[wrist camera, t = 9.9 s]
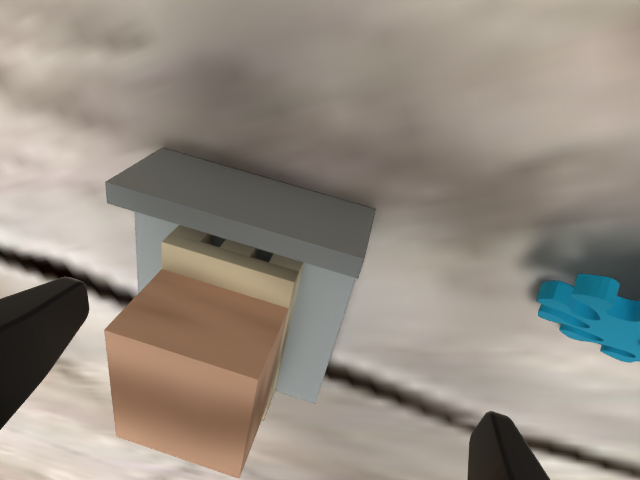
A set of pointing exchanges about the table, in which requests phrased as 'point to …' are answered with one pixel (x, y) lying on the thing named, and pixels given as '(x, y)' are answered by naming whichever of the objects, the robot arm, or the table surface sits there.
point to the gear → (594, 314)
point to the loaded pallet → (202, 350)
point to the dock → (255, 242)
